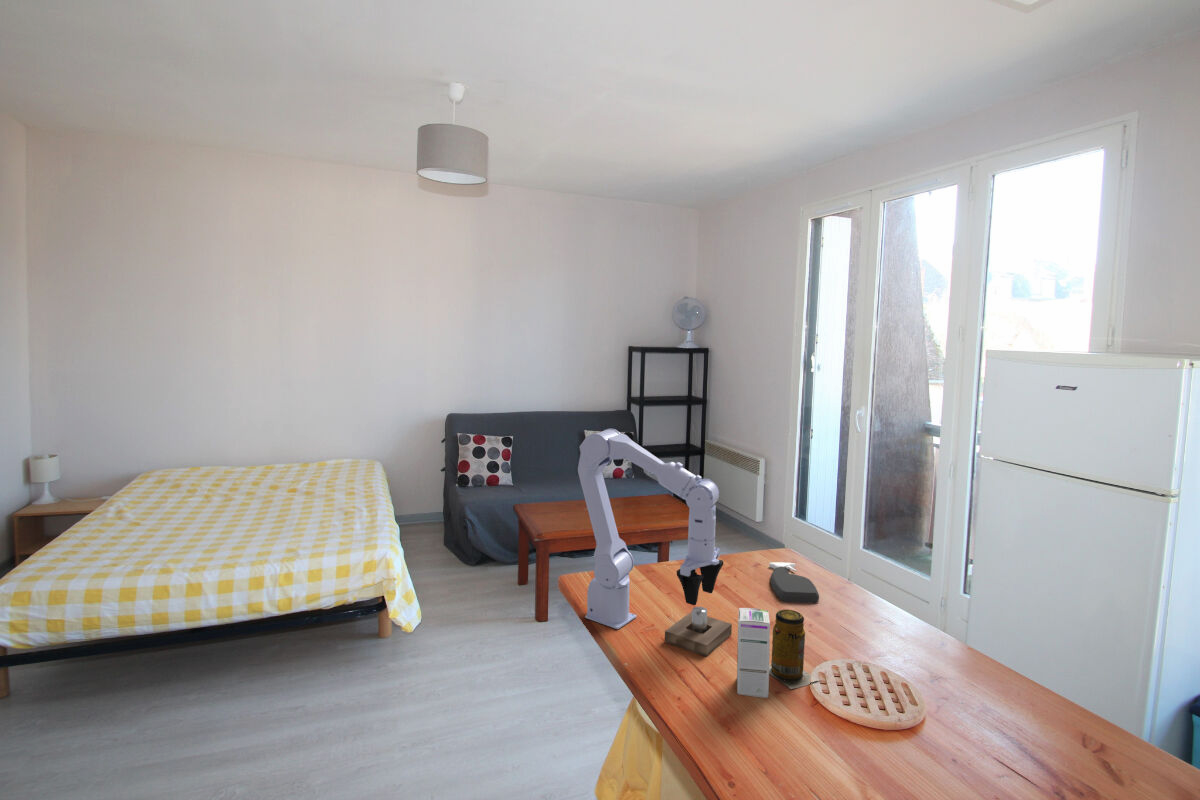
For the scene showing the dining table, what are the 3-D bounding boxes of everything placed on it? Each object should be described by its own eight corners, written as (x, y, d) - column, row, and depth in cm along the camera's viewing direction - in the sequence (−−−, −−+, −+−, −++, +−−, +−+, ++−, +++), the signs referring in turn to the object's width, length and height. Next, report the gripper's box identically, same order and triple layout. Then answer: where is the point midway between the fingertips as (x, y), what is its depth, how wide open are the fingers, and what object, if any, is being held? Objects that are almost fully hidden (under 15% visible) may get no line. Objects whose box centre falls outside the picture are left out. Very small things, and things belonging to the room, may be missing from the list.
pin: (688, 636, 135) (689, 610, 134) (695, 631, 138) (696, 605, 137) (702, 641, 133) (703, 614, 133) (708, 635, 136) (709, 609, 135)
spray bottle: (777, 603, 155) (760, 567, 179) (822, 605, 154) (799, 569, 178) (778, 592, 154) (761, 557, 179) (823, 594, 154) (799, 559, 178)
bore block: (664, 641, 134) (664, 630, 133) (691, 621, 143) (691, 611, 143) (706, 656, 128) (706, 645, 128) (731, 634, 137) (731, 623, 137)
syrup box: (768, 698, 113) (772, 623, 112) (735, 694, 115) (738, 619, 113) (766, 681, 119) (770, 609, 117) (735, 678, 120) (738, 606, 118)
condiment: (788, 660, 127) (791, 604, 126) (819, 681, 119) (822, 622, 118) (760, 668, 124) (762, 611, 122) (790, 690, 116) (793, 629, 115)
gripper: (702, 550, 125) (700, 614, 126) (733, 532, 137) (731, 591, 138) (672, 542, 129) (670, 605, 131) (704, 526, 141) (702, 583, 142)
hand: (699, 597), depth 135 cm, fingers open, 7 cm apart
